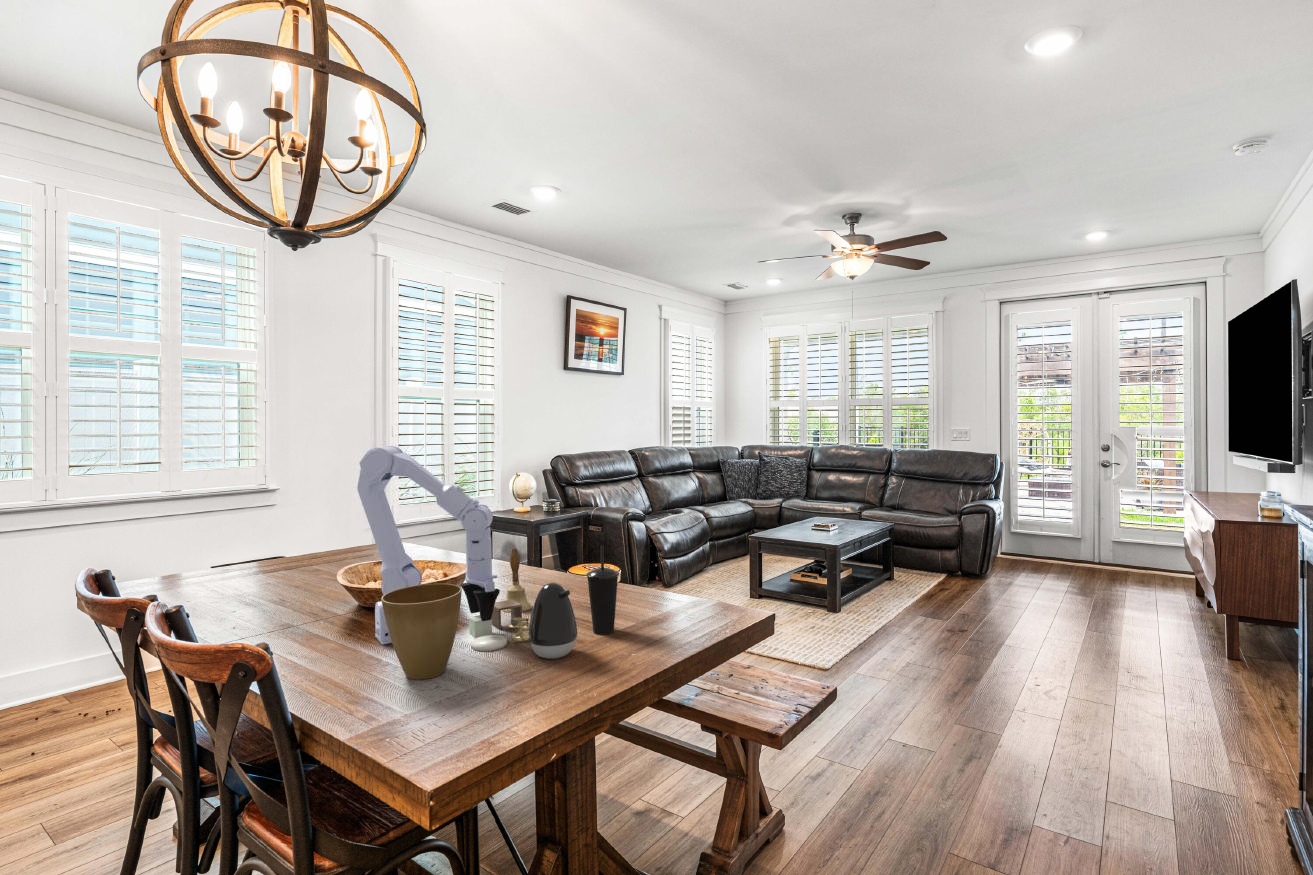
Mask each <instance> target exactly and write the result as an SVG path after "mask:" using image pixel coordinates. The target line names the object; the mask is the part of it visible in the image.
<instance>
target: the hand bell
mask: <svg viewBox="0 0 1313 875" xmlns="http://www.w3.org/2000/svg"><path fill="white" fill-rule="evenodd" d="M510 551H511V552H510V556H509V565H510V569H511V574H512V575H511V576H512V578H511V579H512V585H511V586H510V587H508V588H507V592H506V599H505V601H506V600H512V599H513V600H515V601H516V602H518V603H520V604H522V613H523V612H527V611H529V610H531V609H533V604H532V603H531V602H530V601H529V600H528V598H527V594H526V590H525V586H522V585H521V584H520V578H519V577H520V576H519V569H520V565H521V564H520V563H521V561H520V560H521V559H520V554H519V552H518V549H517V547H511V550H510ZM501 612H504V613H511V609H506V610H501Z"/></svg>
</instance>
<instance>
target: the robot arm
mask: <svg viewBox="0 0 1313 875" xmlns="http://www.w3.org/2000/svg"><path fill="white" fill-rule="evenodd" d="M359 466H360V469H359V470H360V471H359V475H358V476H359V477H358V482H357V493H358V496H359V499H360V502H361V506H362V507H363V510H364V514H365V516H366V518H367V521H368V525H369V526H370V528H369V529H370V531H371V534H372V536H373V540H374V542H375V545H376V547H377V551H378V553H379V556H380V559H381V562H382V563H381V566H380V571H379V573H380V576H381V586H380V588H381V592H382V593H381V594H382V596H383V595H385V594H386V593H388V592H391V591H394V590H397V589H400V588H405V587H409V586H415V585H422V582H423V575H422V572H421V571H420V569H419V568H418V567H417V566H416V565H415V563H414V561H413V559H412V557H411V556H409V555H408V554H407V553H406V550H405V547H404V545H403V542H402V538H401V535H400V532H399V529H398V527H397V525H396V521H395V518H394V515H393V513H392V510H391V506H390V503H389V501H388V498H387V495H386V492H385V488H386V487H387V485H388V484H389V482H390V481H391V479H392V478H393V477H394V476H397V477H407V478H408V479H409V480H411V481H413V482H414V483H415V484H417V485H418V486H420V487H422V488H423V489H424V490H426V491H427V492H428V493H430V494H432V495H433V496H435V498H436V504H437V505H438V506H439V507H440V508H441V509H443V510H444V511H445V512H447V513H448V514H449V515H451V516H452V517H454V518H455V519H456V520H457V521H458V522H461V525H462V528H463V529H464V531H465V556H466V557H465V558H466V559H465V561H466V562H465V563H466V571H465V582H463V583H461V584H460V587H461V588H462V591H463V592H464V594H465V598H466V600H467V605H468V609H469V611H470V614H471V615H472V614H477V613H479V615H480V617H481V620H482V621H488V620H491V618H492V614H493V609H494V604H495V602H496V601H497V598H498V597H499V595H500V592H501V590H500V589H499V588H496V587H495V586H496V585H495V581H494V579H498V574H495V573H493V560H492V554H493V553H492V535H491V524H492V523H493V518H494V515H493V512H492V511H491V509H490V508H489V506H488V505H486V504H480V501H479V500H478V499H475V500H474V499H473V498H472V497H470V496H469V495H468V494H466V492H464V488H463V487H462V486H460V485H458V486H456V485H455V484H450V485H449V484H447V485H446V484H445V483H443V482H442V481H441V480H439V478H438V477H436V476H435V475H434V474H432V472H430V471H429V470H428V469H426V468H425V467H424V466H423V465H422V464H421V463H419V462H418V461H417V460H416V459H414V457H412V456H411V454H409V453H407V452H404V451H403V450H402V449H400V448H399V447H397V446H395V445H389V446H386V447H373V448H371V449H369V450H368V451H366V453H365V454H364V455H363V457H362V459H360V461H359ZM374 621H375V622H374V624H375V635H374V636H375V638H376V639H377V640H378V641H379V643H380V644H381V645H388V644H389V645H390V644H392V641H391V638H390V634H389V631H388V627H387V624H386V619H385V615H384V610H383V605H382V600H380V601H377V602H375V606H374Z"/></svg>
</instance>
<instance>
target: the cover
mask: <svg viewBox="0 0 1313 875" xmlns="http://www.w3.org/2000/svg"><path fill="white" fill-rule="evenodd" d="M506 609H511V612H510V620H511V619H513V618H515V617H516V618H523V612H522V604H520V603H518V602H516V601H515V600H513V599H512V600H506V599H505V600H500V601H497V602H496V601H495V604H494V609H493V614H492V627H494V628H496V629H497V630H499V631H501V630H502V613H501V612H502V611H501V610H506Z"/></svg>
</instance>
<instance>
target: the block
mask: <svg viewBox="0 0 1313 875" xmlns="http://www.w3.org/2000/svg"><path fill="white" fill-rule="evenodd" d="M468 621H469V622H468V626H469V633H468V634H469V635H470V636H471V637H473V638H474V639H475V638H478V637H481V636H487V635H493V625H492V618H491V620H488V621H482V620H481V617H480V614H479V615H474V616H469V617H468Z"/></svg>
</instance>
